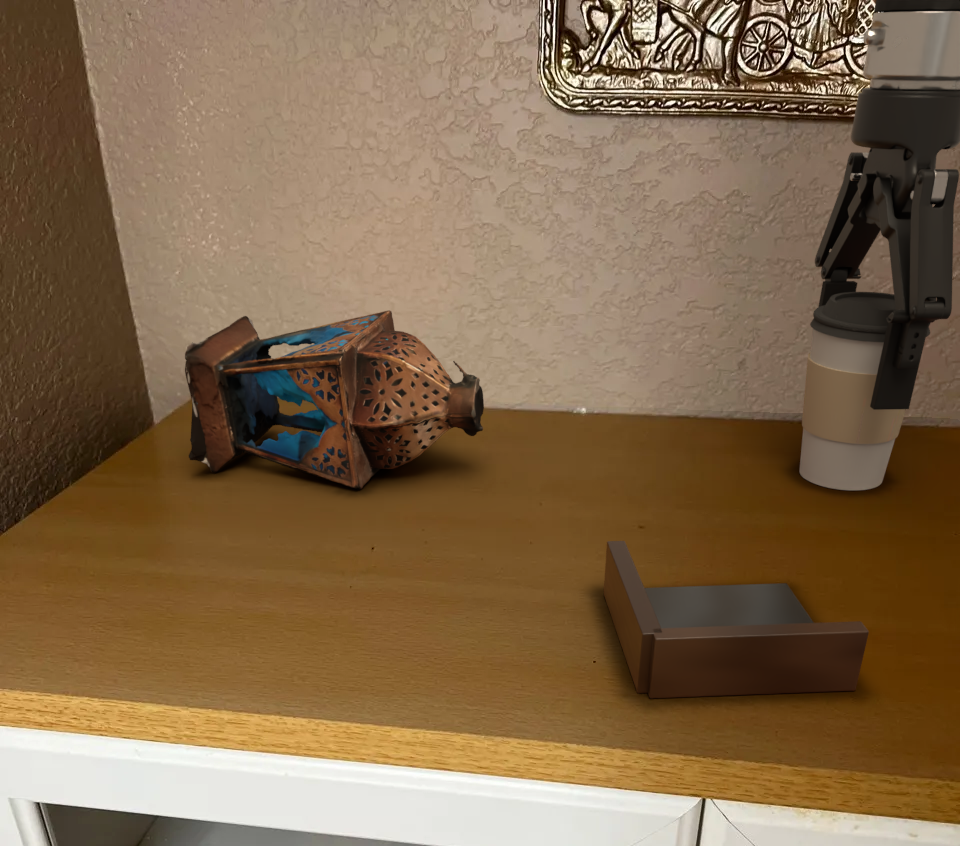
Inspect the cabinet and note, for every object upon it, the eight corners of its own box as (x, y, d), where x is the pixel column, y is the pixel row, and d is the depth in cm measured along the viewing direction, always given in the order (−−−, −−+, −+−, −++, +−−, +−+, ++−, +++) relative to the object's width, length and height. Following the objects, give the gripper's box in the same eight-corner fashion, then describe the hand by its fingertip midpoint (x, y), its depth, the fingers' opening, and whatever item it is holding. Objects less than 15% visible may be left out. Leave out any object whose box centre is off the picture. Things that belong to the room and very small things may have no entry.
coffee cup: (819, 449, 90) (850, 278, 82) (914, 474, 85) (957, 294, 77) (766, 475, 85) (793, 295, 77) (864, 504, 79) (905, 314, 71)
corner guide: (785, 588, 67) (794, 535, 65) (856, 691, 56) (869, 631, 54) (603, 594, 67) (606, 540, 65) (639, 699, 56) (644, 639, 54)
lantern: (233, 520, 93) (488, 532, 87) (143, 431, 78) (444, 439, 72) (269, 372, 98) (514, 374, 92) (191, 261, 83) (477, 255, 77)
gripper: (804, 79, 80) (764, 343, 91) (945, 91, 59) (870, 433, 70) (894, 79, 80) (843, 342, 91) (1066, 92, 59) (973, 432, 70)
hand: (855, 382), depth 80 cm, fingers open, 13 cm apart
